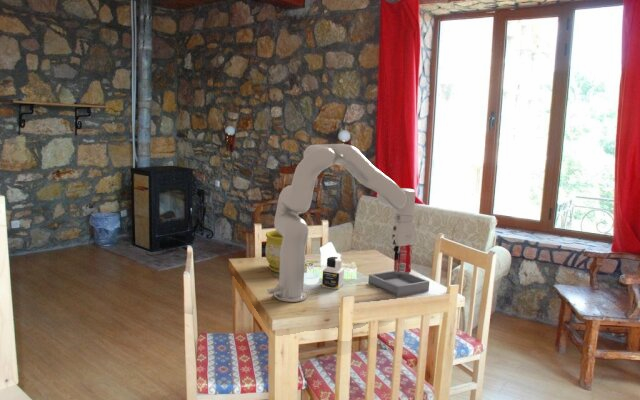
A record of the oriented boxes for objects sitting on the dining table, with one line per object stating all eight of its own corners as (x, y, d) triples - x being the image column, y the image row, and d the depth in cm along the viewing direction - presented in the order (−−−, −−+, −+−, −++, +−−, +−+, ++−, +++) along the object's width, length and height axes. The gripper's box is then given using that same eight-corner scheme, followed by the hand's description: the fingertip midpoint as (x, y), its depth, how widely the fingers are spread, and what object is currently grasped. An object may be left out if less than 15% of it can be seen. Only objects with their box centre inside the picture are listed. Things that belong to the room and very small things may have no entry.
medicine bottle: (321, 286, 213) (323, 258, 211) (327, 282, 219) (329, 254, 217) (338, 289, 210) (340, 261, 208) (343, 284, 217) (345, 257, 215)
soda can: (411, 275, 214) (414, 244, 213) (394, 274, 214) (397, 243, 213) (408, 271, 221) (411, 241, 220) (392, 270, 221) (394, 240, 220)
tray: (396, 296, 206) (397, 287, 205) (368, 283, 221) (368, 274, 220) (428, 290, 216) (429, 281, 216) (399, 278, 231) (399, 269, 230)
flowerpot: (297, 277, 223) (299, 240, 220) (258, 272, 227) (259, 236, 225) (308, 266, 240) (310, 232, 237) (272, 261, 244) (274, 228, 242)
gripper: (395, 221, 206) (392, 265, 209) (424, 218, 215) (420, 261, 218) (383, 217, 212) (379, 260, 215) (411, 215, 221) (408, 256, 224)
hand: (400, 260), depth 217 cm, fingers closed on soda can, 3 cm apart
